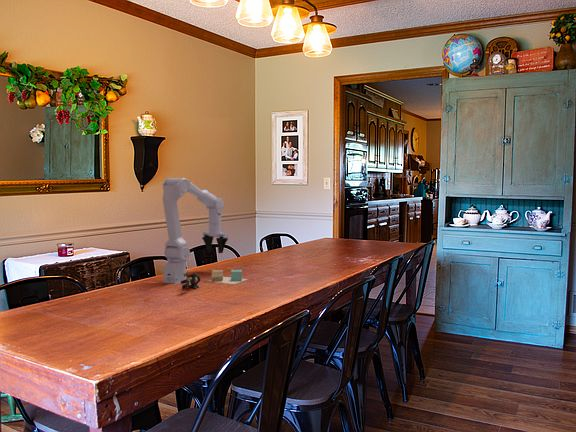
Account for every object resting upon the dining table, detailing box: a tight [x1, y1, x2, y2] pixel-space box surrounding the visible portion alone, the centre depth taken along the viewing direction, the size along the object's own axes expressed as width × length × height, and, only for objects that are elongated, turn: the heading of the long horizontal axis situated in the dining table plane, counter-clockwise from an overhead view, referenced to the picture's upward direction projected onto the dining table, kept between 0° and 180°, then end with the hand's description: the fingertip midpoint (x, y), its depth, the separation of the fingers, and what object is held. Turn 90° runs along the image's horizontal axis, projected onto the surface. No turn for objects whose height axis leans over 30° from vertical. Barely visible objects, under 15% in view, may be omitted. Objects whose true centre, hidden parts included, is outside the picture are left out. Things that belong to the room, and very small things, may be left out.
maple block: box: [211, 269, 224, 281], centre depth 212 cm, size 4×4×4 cm
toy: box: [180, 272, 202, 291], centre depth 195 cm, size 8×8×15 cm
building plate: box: [208, 276, 248, 285], centre depth 213 cm, size 11×14×1 cm
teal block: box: [230, 269, 243, 282], centre depth 213 cm, size 4×4×4 cm
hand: (214, 252), depth 231 cm, fingers open, 7 cm apart
